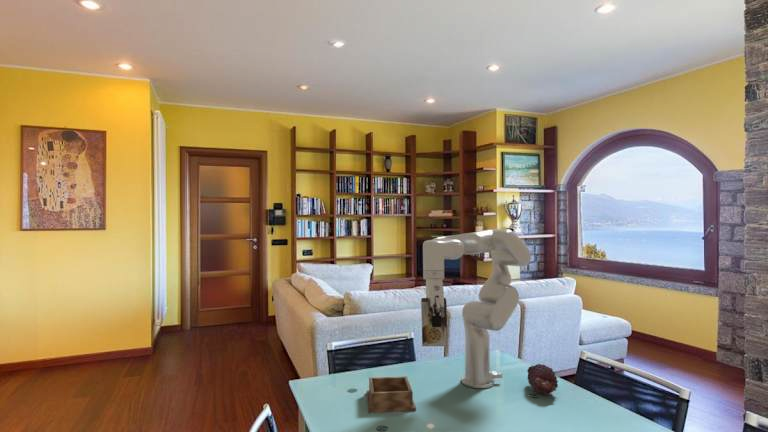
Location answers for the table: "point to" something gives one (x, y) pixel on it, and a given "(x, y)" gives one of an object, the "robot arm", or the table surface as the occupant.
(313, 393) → the table surface
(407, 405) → the holder
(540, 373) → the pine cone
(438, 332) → the coffee box
